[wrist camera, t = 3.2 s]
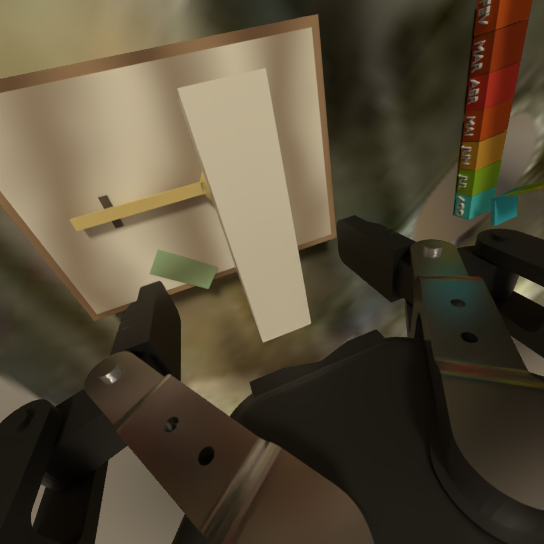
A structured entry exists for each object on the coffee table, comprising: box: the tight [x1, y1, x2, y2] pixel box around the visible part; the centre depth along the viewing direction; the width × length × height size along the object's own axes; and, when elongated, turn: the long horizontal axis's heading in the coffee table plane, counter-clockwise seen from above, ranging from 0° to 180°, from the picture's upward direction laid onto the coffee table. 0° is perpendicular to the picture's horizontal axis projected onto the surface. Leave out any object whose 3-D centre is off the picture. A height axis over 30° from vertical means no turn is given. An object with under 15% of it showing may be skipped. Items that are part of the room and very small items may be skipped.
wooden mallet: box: [70, 68, 311, 342], centre depth 11 cm, size 10×8×10 cm
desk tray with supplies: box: [0, 14, 336, 321], centre depth 18 cm, size 20×15×3 cm
